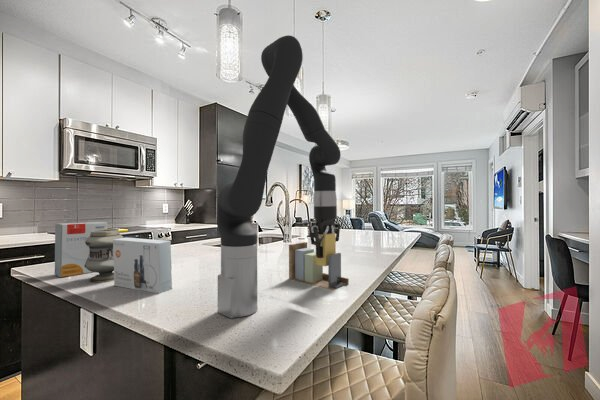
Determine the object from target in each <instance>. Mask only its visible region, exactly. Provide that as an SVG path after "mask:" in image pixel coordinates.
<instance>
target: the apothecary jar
mask: <svg viewBox="0 0 600 400" xmlns="http://www.w3.org/2000/svg"><path fill="white" fill-rule="evenodd" d="M120 238H125V237H124V236H123V235H122V234H120V230H119V229H118V228H107V229H101V230H93V231H91V234H90V237H88V238H87V239H86V241H85V244H86V245H87V246H89V252H90V257H89V260H88V261H87V262H86V264H85V266H86V268H87V269H88V270H89V271H92V272H91V273H97V274H96V275H94V276H92V277H90V278H89V280H88V281H89V282H91V283H92V282H94V283H107V282H112V281H113V282H114V256H113V240H114V239H120Z"/></svg>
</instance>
